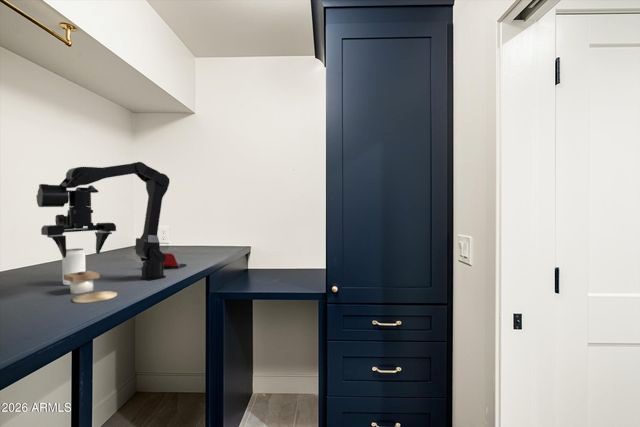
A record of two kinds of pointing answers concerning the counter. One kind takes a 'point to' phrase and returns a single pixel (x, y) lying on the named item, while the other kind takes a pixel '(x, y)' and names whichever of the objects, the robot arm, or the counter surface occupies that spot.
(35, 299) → the counter surface
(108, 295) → the disc
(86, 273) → the lid
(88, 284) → the white short cylinder
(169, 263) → the red cap
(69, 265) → the can
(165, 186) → the robot arm
